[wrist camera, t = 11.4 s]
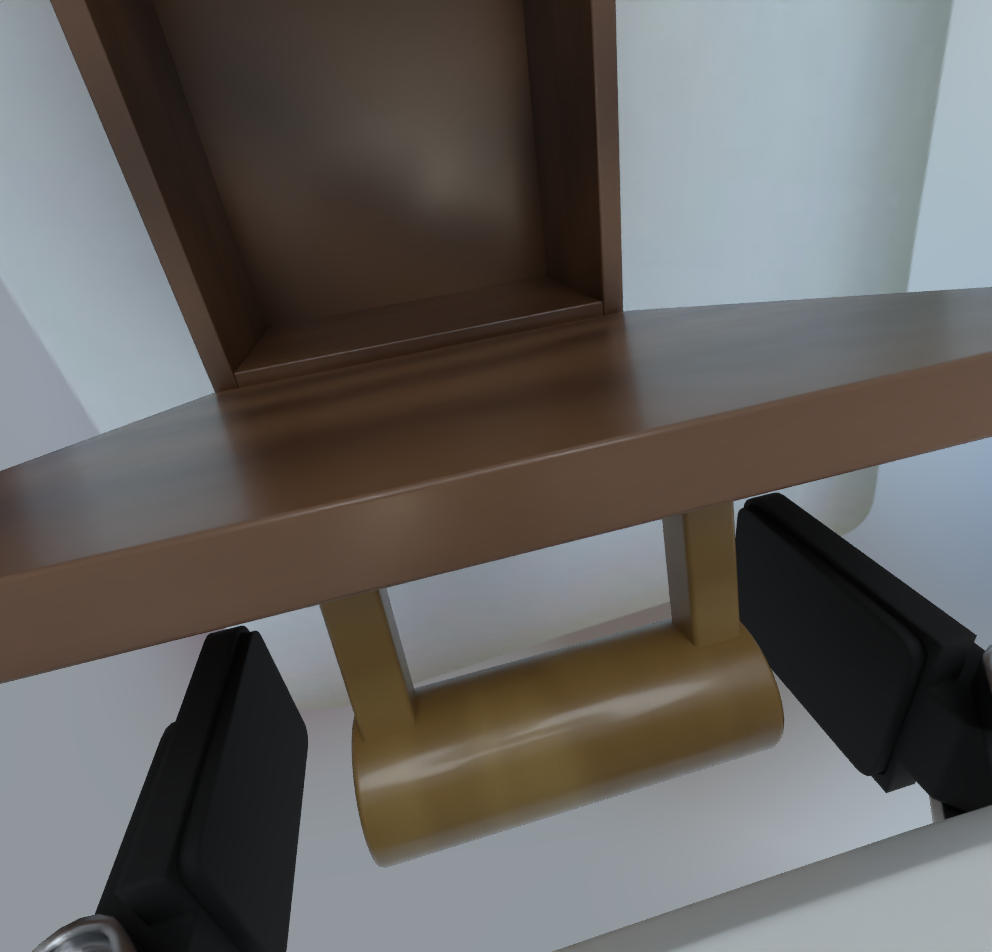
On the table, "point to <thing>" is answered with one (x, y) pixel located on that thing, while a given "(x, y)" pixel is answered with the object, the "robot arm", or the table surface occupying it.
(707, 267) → the table surface
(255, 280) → the case
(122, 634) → the case lid
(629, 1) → the table surface
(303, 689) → the table surface
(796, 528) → the robot arm
